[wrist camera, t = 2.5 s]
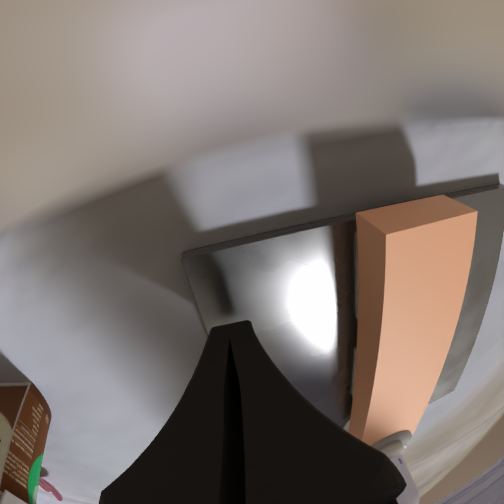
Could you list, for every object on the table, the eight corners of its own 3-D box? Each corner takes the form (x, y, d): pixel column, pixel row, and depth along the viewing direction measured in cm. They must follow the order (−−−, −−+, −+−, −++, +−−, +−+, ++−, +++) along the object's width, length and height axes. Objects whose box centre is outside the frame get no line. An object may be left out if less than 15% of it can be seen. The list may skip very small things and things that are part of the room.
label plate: (500, 183, 11) (510, 187, 10) (450, 386, 18) (454, 393, 17) (182, 252, 10) (180, 261, 10) (262, 454, 18) (263, 463, 17)
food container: (8, 428, 15) (-17, 509, 6) (-35, 382, 13) (-73, 466, 4) (100, 436, 15) (83, 556, 6) (45, 380, 13) (-1, 521, 4)
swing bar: (395, 423, 17) (411, 453, 14) (346, 442, 17) (358, 475, 14) (439, 193, 9) (493, 219, 7) (353, 210, 9) (401, 246, 7)
